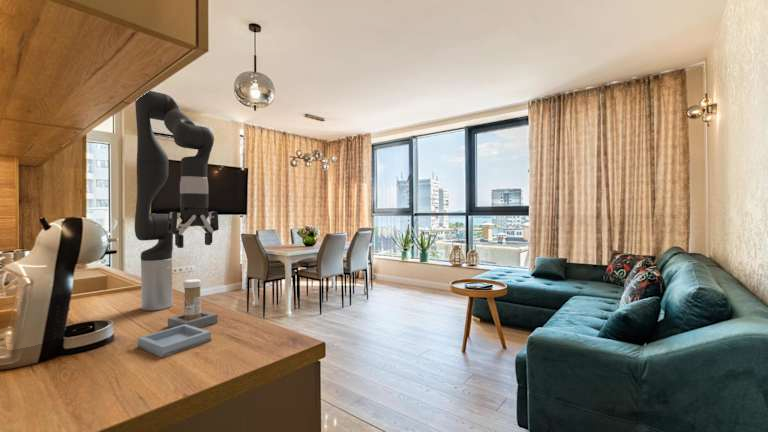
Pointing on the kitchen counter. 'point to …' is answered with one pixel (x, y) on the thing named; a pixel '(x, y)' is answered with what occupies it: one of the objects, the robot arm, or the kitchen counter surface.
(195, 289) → the sprinkles bottle
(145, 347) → the tray
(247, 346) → the kitchen counter surface
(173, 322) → the holder
